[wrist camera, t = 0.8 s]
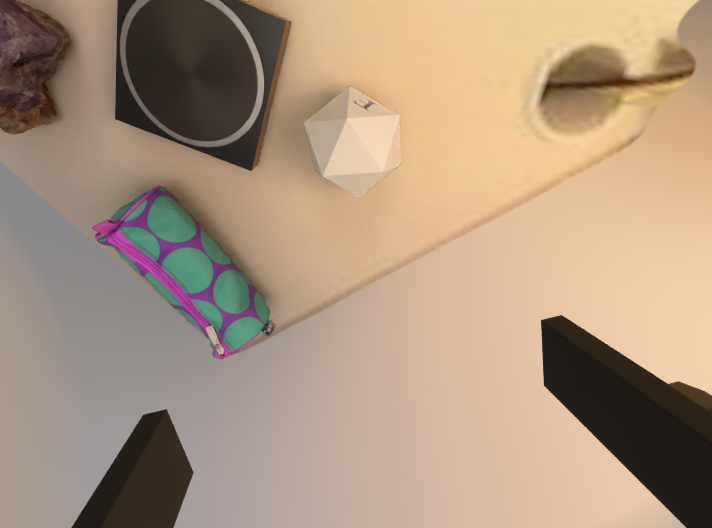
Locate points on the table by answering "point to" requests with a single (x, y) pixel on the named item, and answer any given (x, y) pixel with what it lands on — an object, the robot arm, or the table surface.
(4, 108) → the rock
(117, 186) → the table surface
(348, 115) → the die
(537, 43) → the table surface
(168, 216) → the pencil case
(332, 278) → the table surface
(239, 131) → the hot plate
